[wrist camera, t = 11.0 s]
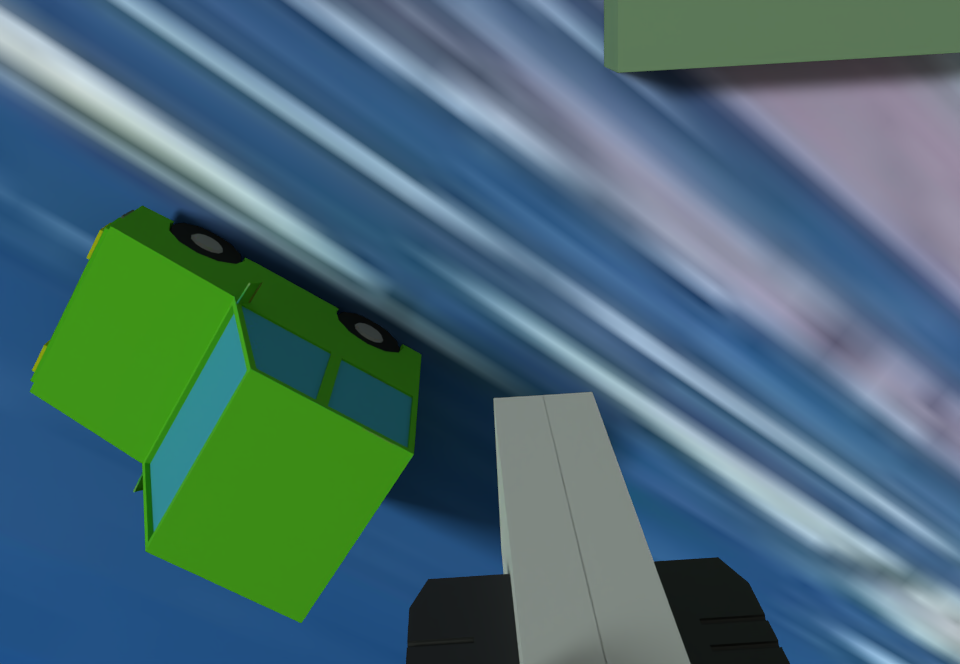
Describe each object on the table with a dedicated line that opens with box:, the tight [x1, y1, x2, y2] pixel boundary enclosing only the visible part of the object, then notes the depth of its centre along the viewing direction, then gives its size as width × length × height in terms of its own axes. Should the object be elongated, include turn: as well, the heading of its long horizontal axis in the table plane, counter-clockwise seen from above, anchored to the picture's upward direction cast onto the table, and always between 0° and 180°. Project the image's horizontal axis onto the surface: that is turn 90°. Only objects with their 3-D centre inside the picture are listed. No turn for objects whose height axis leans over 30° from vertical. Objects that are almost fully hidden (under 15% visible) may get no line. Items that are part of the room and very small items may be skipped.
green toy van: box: [30, 206, 421, 623], centre depth 34 cm, size 10×13×10 cm
